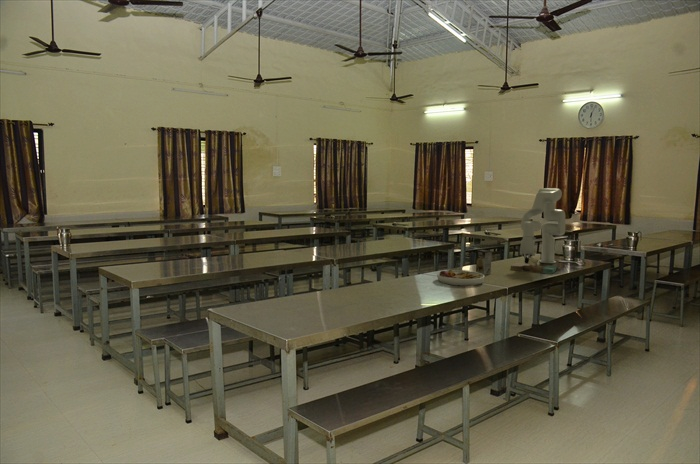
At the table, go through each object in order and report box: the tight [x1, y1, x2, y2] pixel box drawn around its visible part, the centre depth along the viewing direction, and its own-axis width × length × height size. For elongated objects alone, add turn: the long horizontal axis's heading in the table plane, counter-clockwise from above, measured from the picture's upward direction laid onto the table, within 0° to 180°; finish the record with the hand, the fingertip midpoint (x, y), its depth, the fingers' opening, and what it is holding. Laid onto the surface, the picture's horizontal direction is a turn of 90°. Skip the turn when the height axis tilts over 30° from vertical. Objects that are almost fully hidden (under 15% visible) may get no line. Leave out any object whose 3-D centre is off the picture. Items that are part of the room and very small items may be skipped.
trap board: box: [510, 262, 558, 275], centre depth 388 cm, size 17×29×3 cm, turn 60°
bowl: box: [436, 269, 486, 287], centre depth 342 cm, size 30×30×8 cm
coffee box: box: [475, 249, 493, 275], centre depth 372 cm, size 9×6×16 cm
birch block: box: [528, 256, 540, 266], centre depth 387 cm, size 5×5×5 cm
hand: (526, 263), depth 389 cm, fingers closed
